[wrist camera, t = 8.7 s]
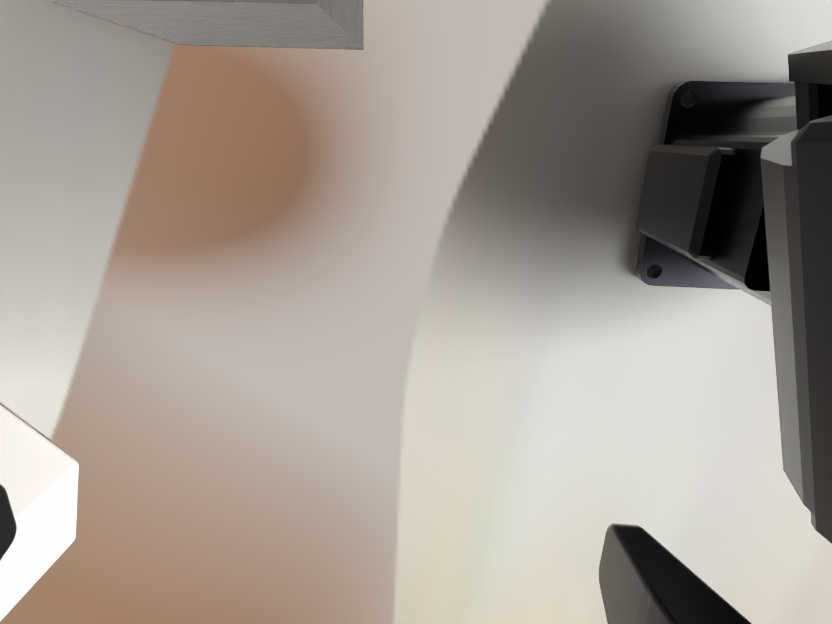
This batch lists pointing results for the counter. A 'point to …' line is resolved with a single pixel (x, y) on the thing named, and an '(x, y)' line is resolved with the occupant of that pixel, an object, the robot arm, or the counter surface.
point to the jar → (34, 505)
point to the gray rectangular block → (237, 21)
